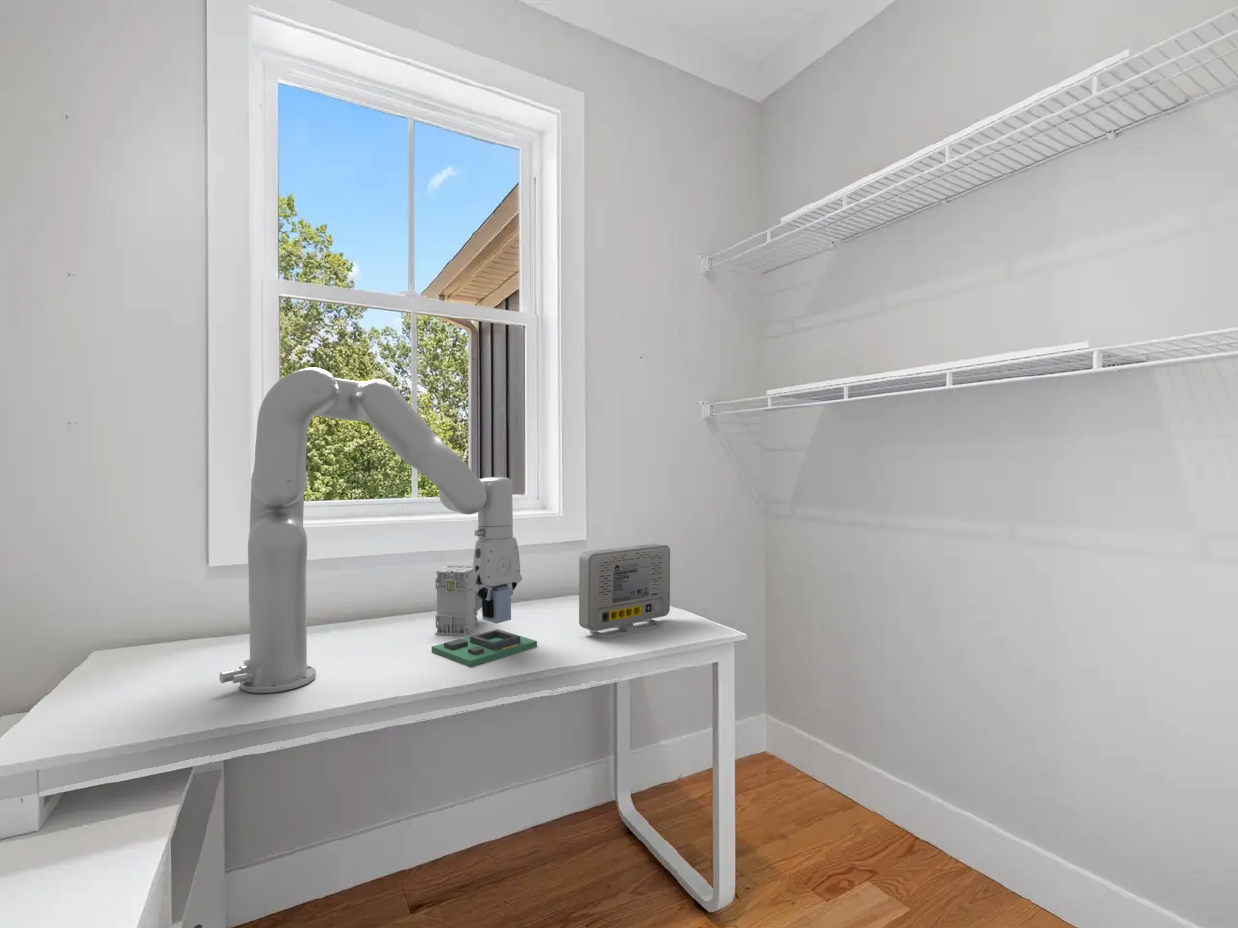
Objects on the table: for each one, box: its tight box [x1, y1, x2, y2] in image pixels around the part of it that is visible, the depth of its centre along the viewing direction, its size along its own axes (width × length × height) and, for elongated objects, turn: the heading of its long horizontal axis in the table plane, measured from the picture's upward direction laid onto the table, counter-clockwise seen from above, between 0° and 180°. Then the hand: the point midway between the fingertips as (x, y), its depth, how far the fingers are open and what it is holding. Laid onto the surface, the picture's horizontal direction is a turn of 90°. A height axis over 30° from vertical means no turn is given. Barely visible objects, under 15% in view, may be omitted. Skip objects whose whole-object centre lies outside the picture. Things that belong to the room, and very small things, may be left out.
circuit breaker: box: [435, 565, 482, 636], centre depth 157 cm, size 8×14×15 cm, turn 174°
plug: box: [481, 585, 512, 624], centre depth 141 cm, size 4×5×8 cm
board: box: [431, 628, 538, 668], centre depth 140 cm, size 18×14×3 cm
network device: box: [578, 543, 671, 640], centre depth 156 cm, size 26×9×20 cm, turn 128°
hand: (496, 614), depth 141 cm, fingers closed on plug, 4 cm apart
